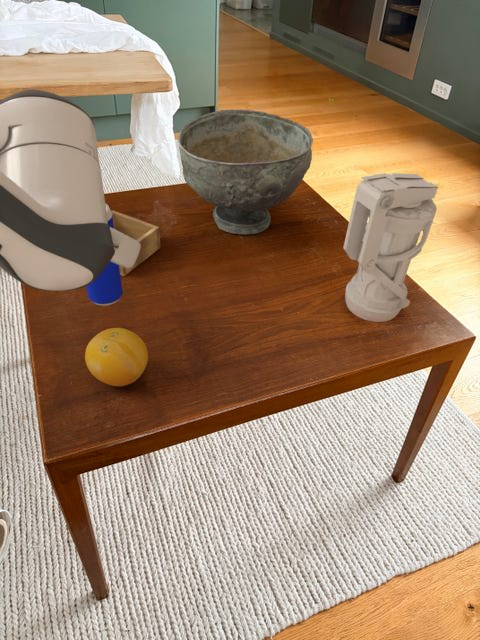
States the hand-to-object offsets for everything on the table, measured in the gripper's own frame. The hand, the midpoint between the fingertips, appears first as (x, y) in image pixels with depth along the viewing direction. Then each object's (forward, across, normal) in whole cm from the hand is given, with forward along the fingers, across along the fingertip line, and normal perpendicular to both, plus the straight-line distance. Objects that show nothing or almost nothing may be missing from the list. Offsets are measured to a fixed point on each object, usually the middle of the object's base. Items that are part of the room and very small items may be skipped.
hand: (100, 244), depth 70 cm
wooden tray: (+25, +14, -1) cm, 28 cm away
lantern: (+33, -34, -9) cm, 48 cm away
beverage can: (+6, 0, +7) cm, 9 cm away
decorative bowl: (+42, 0, -18) cm, 46 cm away
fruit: (+7, -7, +17) cm, 20 cm away
